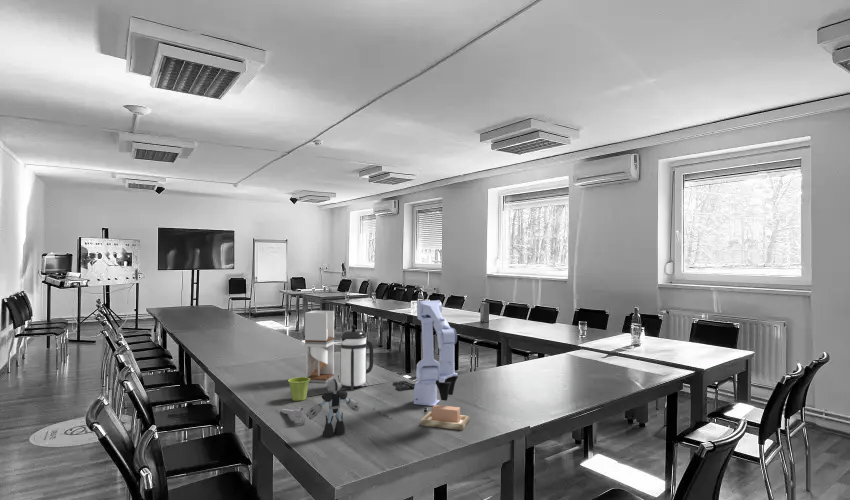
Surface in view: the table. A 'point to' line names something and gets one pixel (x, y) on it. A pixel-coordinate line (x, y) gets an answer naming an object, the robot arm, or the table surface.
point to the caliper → (296, 414)
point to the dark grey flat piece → (403, 385)
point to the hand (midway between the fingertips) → (447, 397)
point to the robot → (333, 408)
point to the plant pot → (299, 388)
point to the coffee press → (354, 358)
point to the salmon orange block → (446, 413)
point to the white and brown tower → (319, 345)
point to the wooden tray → (450, 425)
